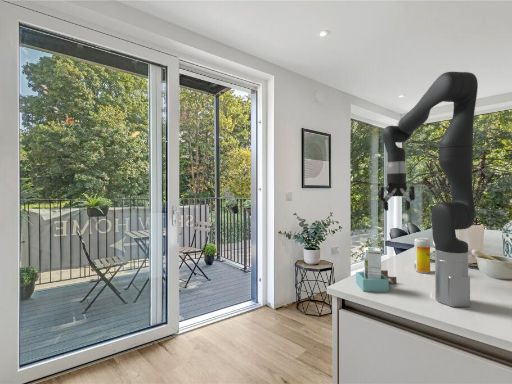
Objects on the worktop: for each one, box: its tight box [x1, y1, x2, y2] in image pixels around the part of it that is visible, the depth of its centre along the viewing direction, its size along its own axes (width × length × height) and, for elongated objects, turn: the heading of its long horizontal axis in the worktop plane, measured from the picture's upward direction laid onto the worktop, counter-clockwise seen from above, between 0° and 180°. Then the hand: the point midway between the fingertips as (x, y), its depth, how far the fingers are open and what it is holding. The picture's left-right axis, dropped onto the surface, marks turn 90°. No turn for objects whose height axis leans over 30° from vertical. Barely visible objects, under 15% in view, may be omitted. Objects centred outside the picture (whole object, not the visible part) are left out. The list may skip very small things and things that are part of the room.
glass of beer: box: [413, 236, 431, 275], centre depth 129 cm, size 6×6×15 cm
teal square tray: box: [355, 271, 390, 293], centre depth 111 cm, size 9×9×4 cm
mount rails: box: [381, 269, 397, 284], centre depth 118 cm, size 12×6×2 cm, turn 177°
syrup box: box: [363, 246, 382, 279], centre depth 111 cm, size 6×6×14 cm
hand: (396, 210), depth 124 cm, fingers open, 8 cm apart
